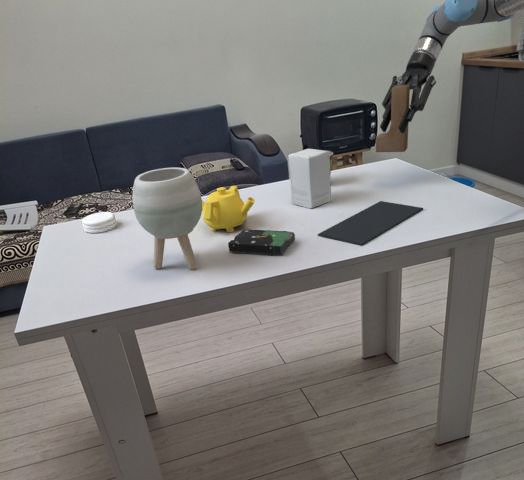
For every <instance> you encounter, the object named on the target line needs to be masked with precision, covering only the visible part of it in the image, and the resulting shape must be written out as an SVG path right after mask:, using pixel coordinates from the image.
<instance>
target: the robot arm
mask: <svg viewBox="0 0 524 480" xmlns="http://www.w3.org/2000/svg"><path fill="white" fill-rule="evenodd" d="M523 11H524V0H445V1H444V2H443V4H440V5H438V6H435V7H433V8H432V10H431V12H430V14H429V15H428V16H427V18H426V21H425V24H424V27H423V29H422V30H421V32H420V36H419V37H418V40H417V42H416V44H415V46H414V48H413V51H412V54H411V55H410V57H409V60H408V62H407V64H406V68H405V71H404V72H403V74H402V75H401V76H397V75H394V76H392V80H391V84H390V86H389V88H388V90H387V92H386V94H385V96H384V98H383V100H382V103H381V105H382V107H383V109H384V112H383V114H382V121H381V123H380V125H379V128H380V129H381V131H382V133H387V130H388V127H389V125H390V124H391V100H392V88H393V87H394V86H396V85H410V91H412V94H411V98H410V104H409V108H407V109H406V111H405V114H404V116H403V118H402V120H401V122H400V125H399V127H398V128H399V130H400V132H401V133H404V132H405V129H406V127H407V125H408V126H409V123H411V122H412V121H413V119H414V116H415V114H416V113H418V112H422V111H424V109H425V107H426V104H427V101H428V99H429V97H430V94H431V91H432V89H433V88H434V86H435V85H436V84H437V80H436V78H435V76H434V74H432V72H433V70H434V68H435V65H436V63H437V61H438V58H439V57H440V54H441V52H442V49H443V47H444V46H445V43H446V41H447V39H448V38H449V37H450V36H451V35H452V34H453V33H454V32H455V31H456V30H457V29H458V28H460V27H466V26H474V25H480V24H486V23H496V22H498V23H499V22H503V21H507V20H508V21H509V20H510V19H512V18H514V16H515V14H517V13H519V12H523ZM431 74H432V75H431ZM423 85H424V86H423ZM422 87H423V88H422Z"/></svg>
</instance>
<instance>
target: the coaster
mask: <svg viewBox="0 0 524 480" xmlns="http://www.w3.org/2000/svg"><path fill="white" fill-rule="evenodd" d="M81 223H82V227H83V230H84V232H86V233H89V234H100V233H104V232H105V233H106V232H109V231H111V230H112V229H114V228H115V227H117V224H118V222H117V219H116V214H114V213H113V212H110V211H99V212H94V213H91V214H89V215H86V216H85V217H83V218H82V219H81Z"/></svg>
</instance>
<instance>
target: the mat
mask: <svg viewBox="0 0 524 480" xmlns="http://www.w3.org/2000/svg"><path fill="white" fill-rule="evenodd" d="M423 210H424V207H421V206H415V205H407V204H402V203H397V202H389V201H384V200H380V201H378V202H376V203H374V204H372V205H370V206H368V207H366V208H365V209H363V210H360V211H359V212H357V213H355V214H353V215H351V216H349V217H347V218H346V219H344V220H341V221H340V222H337V223H336V224H334V225H331V226H330V227H328V228H327V229H324V230H323V231H320V232H319V233H317V237H322V238H325V239H331V240H333V241H334V240H335V241H340V242H344V243H348V244H353V245H357V246H361V247H362V246H364V245H366V244H368V243H369V242H371V241H373V240H374V239H376V238H378V237H379V236H381V235H382V234H385V233H386V232H387V231H390V230H391V229H393V228H395V227H396V226H398V225H399V224H401V223H403V222H405V221H406V220H408V219H410V218H411V217H413V216H415V215H416V214H418V213H420V212H421V211H423Z"/></svg>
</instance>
